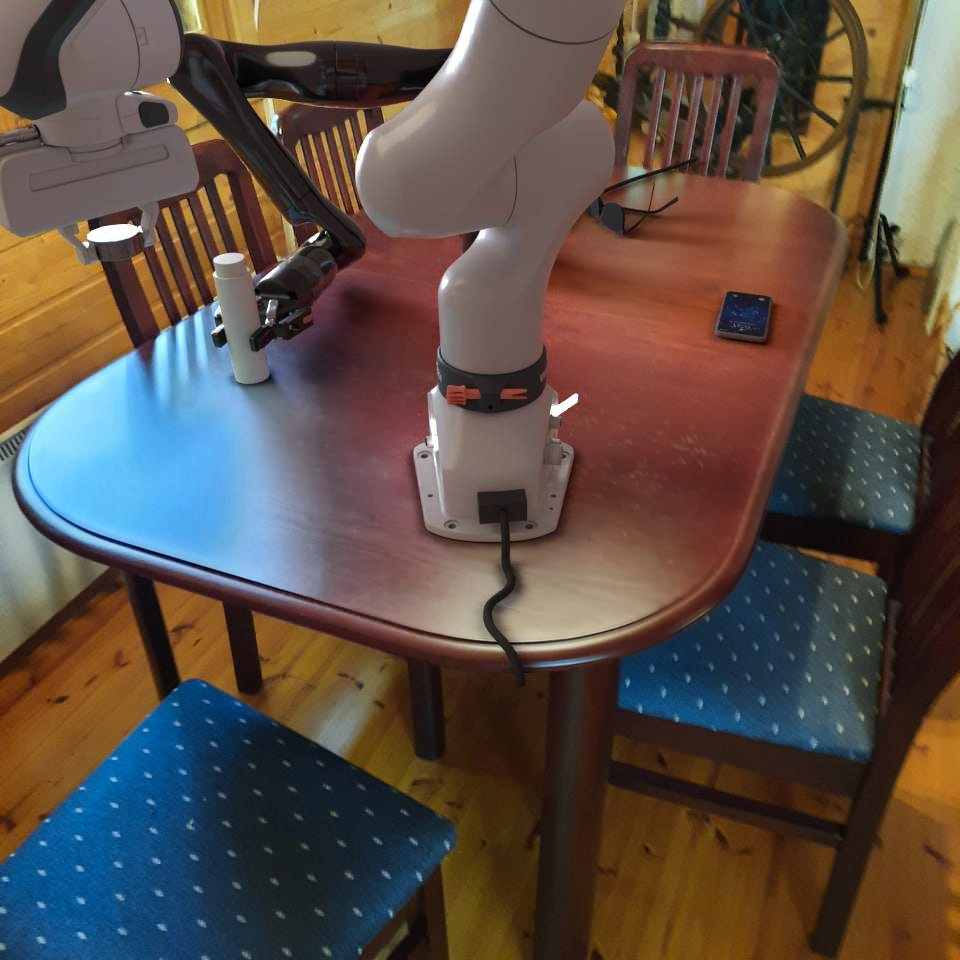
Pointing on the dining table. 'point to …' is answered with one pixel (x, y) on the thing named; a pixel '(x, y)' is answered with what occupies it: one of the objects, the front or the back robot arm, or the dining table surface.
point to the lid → (116, 242)
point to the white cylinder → (239, 317)
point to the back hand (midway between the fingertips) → (234, 343)
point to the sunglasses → (620, 213)
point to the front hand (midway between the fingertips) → (119, 253)
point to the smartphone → (744, 316)
